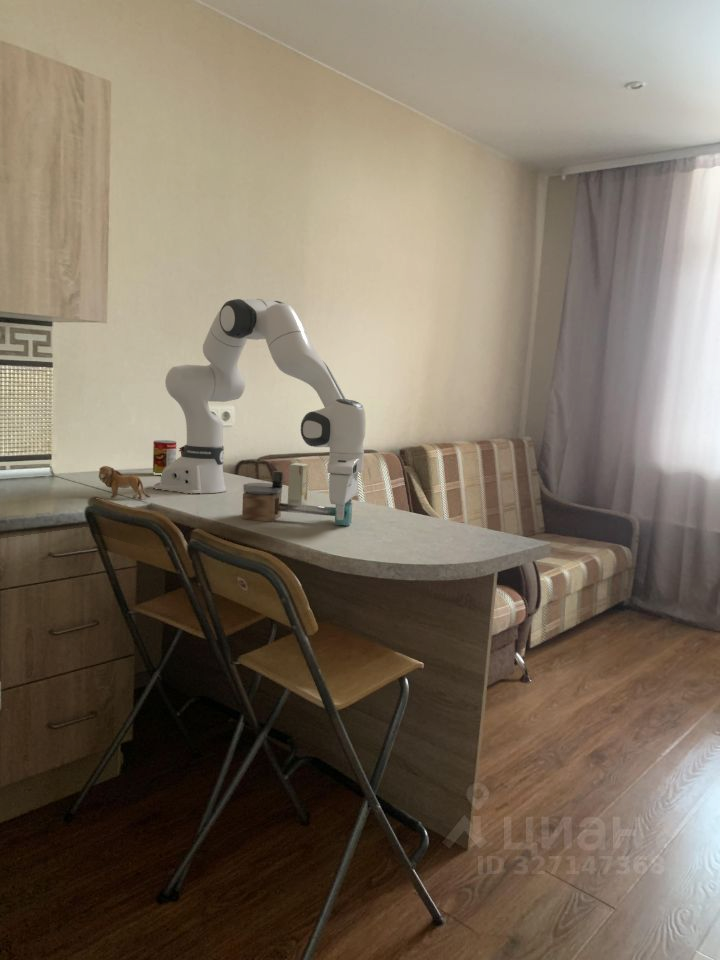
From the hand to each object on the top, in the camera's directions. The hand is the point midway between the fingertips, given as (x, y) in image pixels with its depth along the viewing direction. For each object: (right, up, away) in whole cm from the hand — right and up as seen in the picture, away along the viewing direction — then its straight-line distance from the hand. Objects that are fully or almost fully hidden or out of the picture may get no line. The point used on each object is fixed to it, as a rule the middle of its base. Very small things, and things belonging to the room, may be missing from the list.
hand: (343, 516), depth 187 cm
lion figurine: (-64, +4, +21) cm, 68 cm away
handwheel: (-21, +6, +3) cm, 22 cm away
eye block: (-22, 0, +4) cm, 22 cm away
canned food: (-66, +11, +72) cm, 98 cm away
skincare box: (-14, +2, +25) cm, 28 cm away
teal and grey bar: (-8, -1, +1) cm, 8 cm away
